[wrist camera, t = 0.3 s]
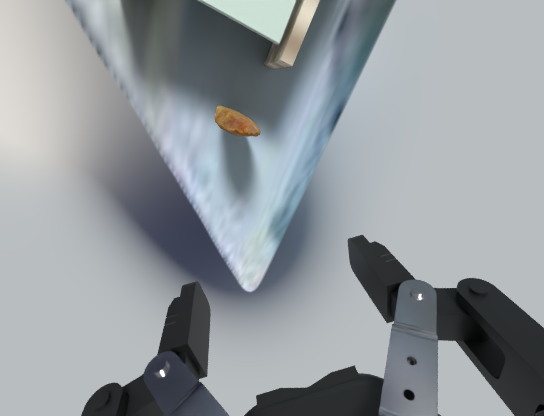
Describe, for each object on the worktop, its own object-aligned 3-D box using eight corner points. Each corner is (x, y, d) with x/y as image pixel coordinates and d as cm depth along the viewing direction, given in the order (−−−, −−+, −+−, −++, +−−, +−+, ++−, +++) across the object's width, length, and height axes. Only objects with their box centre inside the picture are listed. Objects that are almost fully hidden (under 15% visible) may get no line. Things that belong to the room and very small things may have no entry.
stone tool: (256, 114, 35) (277, 136, 22) (249, 131, 36) (267, 162, 23) (218, 98, 33) (217, 112, 20) (213, 117, 34) (208, 141, 21)
